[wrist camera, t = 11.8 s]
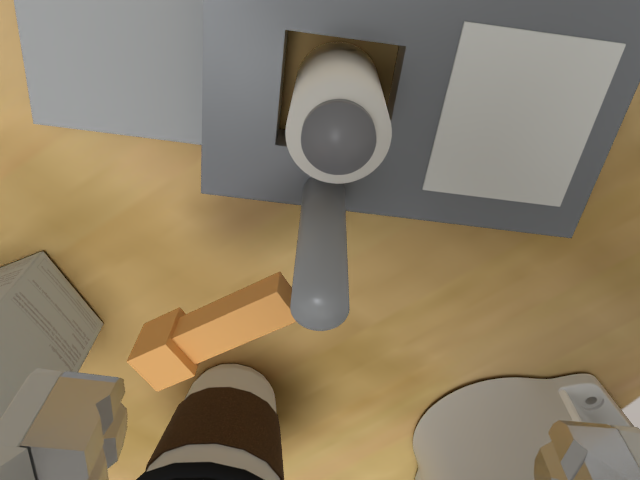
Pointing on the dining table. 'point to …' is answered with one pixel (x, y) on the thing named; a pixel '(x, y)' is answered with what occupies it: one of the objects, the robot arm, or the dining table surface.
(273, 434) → the coffee cup
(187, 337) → the orange wooden bar
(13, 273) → the supplement box
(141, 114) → the pad
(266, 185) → the stand
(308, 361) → the dining table surface
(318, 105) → the plug
